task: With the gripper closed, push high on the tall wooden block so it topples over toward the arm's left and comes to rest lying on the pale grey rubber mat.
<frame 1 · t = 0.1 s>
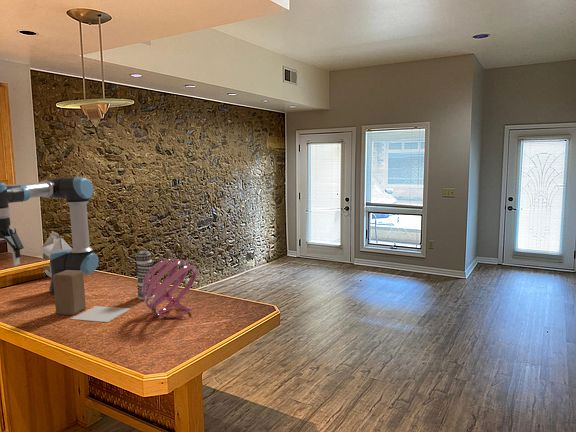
hand: (4, 264, 198), 28 cm above the kitchen counter, fingers open, 13 cm apart
spiral basket: (171, 313, 211), on the kitchen counter
decorative candle: (146, 297, 237), on the kitchen counter
gable box: (59, 274, 289), on the kitchen counter
mat: (101, 314, 212), on the kitchen counter
wooden block: (71, 312, 216), on the kitchen counter
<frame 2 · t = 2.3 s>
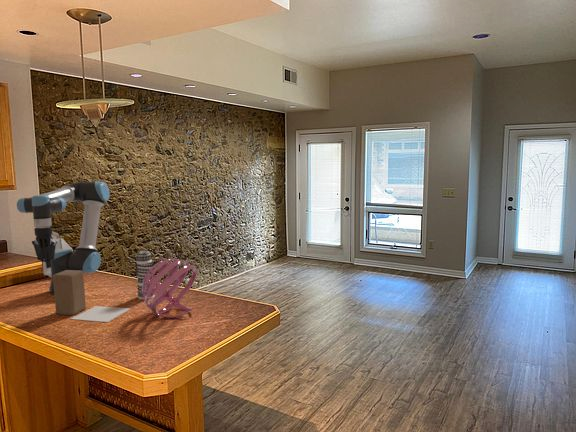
hand: (47, 274, 216), 19 cm above the kitchen counter, fingers closed
nothing on the kitchen counter moved.
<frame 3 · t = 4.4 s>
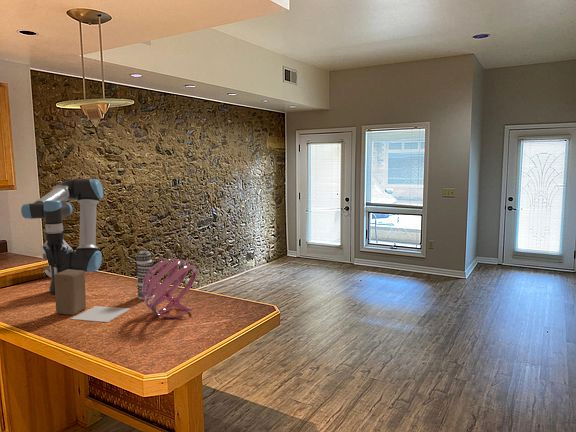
hand: (58, 279, 214), 16 cm above the kitchen counter, fingers closed
wooden block: (71, 311, 216), on the kitchen counter, touching gripper
everything else where it was.
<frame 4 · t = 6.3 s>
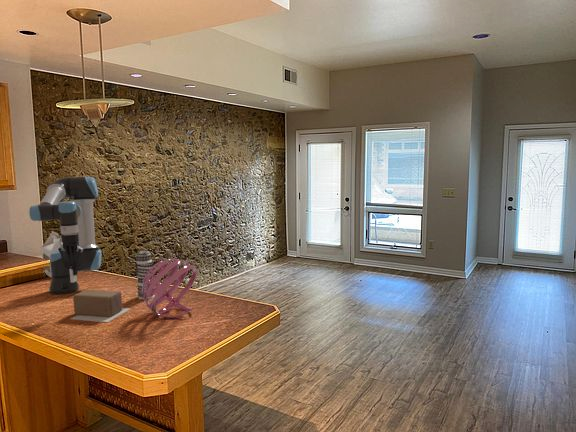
hand: (73, 281, 213), 15 cm above the kitchen counter, fingers closed
wooden block: (79, 301, 214), point 5 cm above the kitchen counter, touching mat
everything else where it was.
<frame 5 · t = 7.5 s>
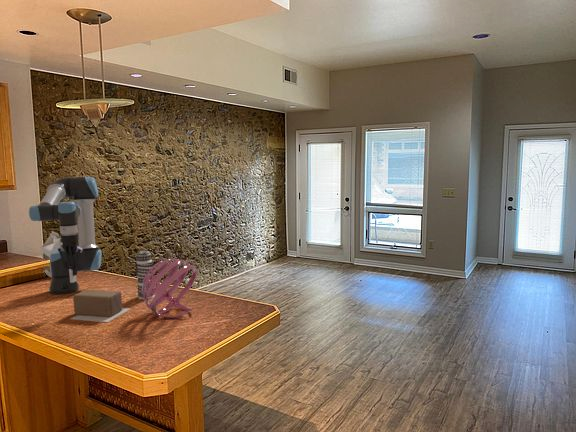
hand: (73, 281, 213), 15 cm above the kitchen counter, fingers closed
nothing on the kitchen counter moved.
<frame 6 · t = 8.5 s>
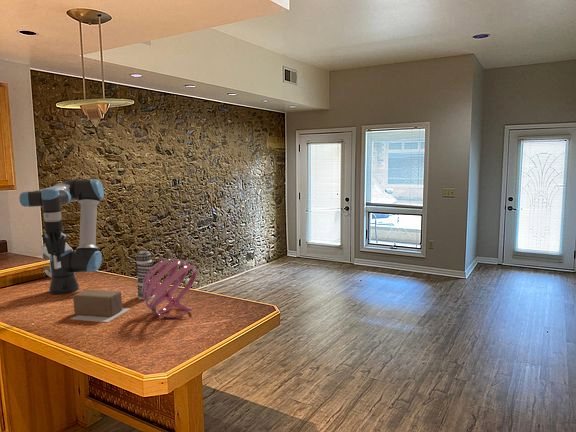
hand: (57, 268, 215), 22 cm above the kitchen counter, fingers closed
nothing on the kitchen counter moved.
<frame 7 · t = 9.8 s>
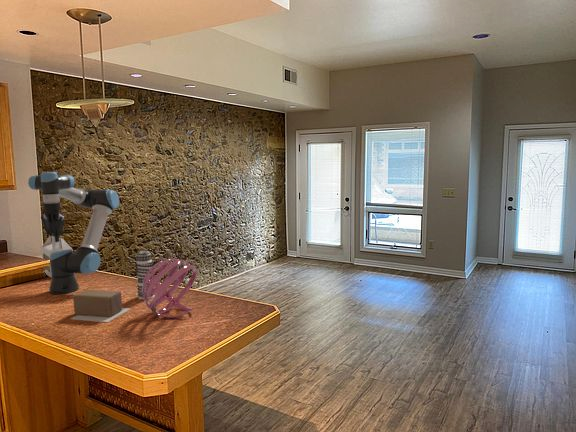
hand: (55, 248, 225), 29 cm above the kitchen counter, fingers closed
nothing on the kitchen counter moved.
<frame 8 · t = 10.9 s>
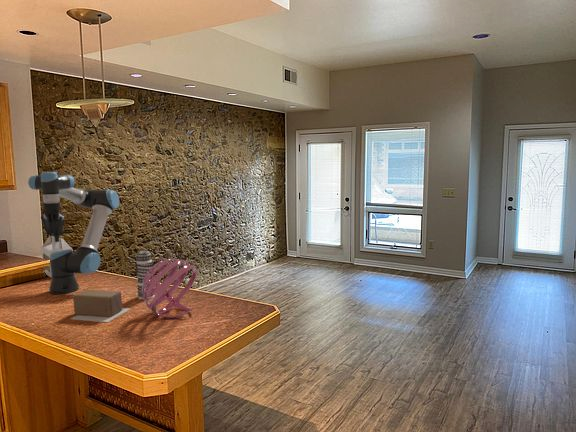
hand: (55, 248, 225), 29 cm above the kitchen counter, fingers closed
nothing on the kitchen counter moved.
at the end: wooden block tilted 90°; wooden block inside the target area (5.6 cm from its centre), point 5.3 cm above the kitchen counter; the gripper is holding nothing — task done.
